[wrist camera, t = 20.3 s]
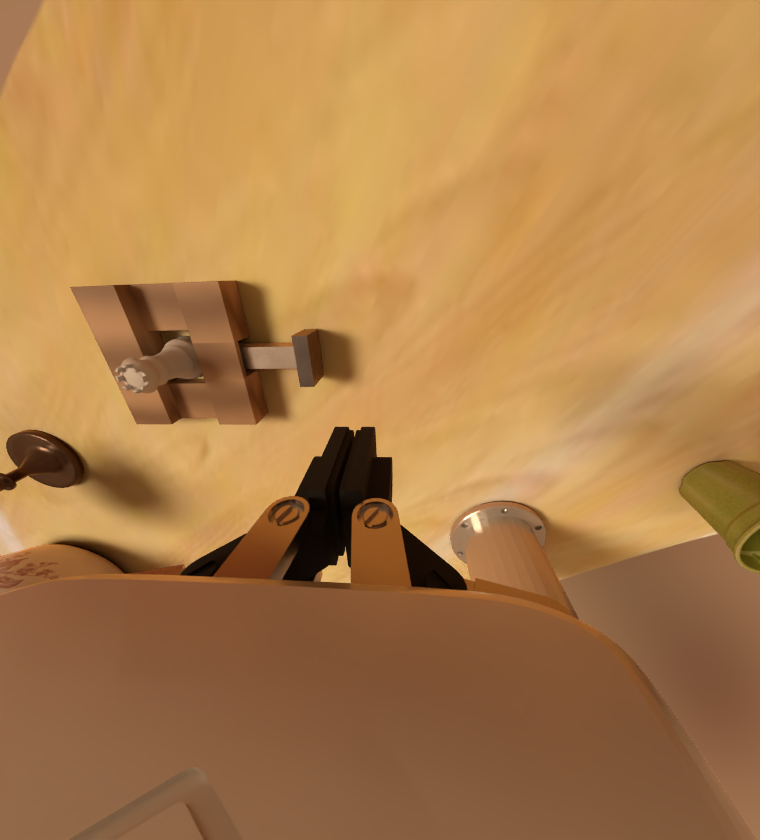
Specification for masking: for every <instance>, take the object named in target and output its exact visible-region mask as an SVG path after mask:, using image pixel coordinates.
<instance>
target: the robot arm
mask: <svg viewBox="0 0 760 840" xmlns="http://www.w3.org/2000/svg"><path fill="white" fill-rule="evenodd" d="M546 537H547V534H546V528H545V526H544V524H543V522H542V520H541V519H540V517H539V516H538V515H537V514H536V513H535V512H534V511H533V510H531V509H530V508H528V507H526V506H523V505H521V504H517V503H512V502H491V503H486V504H482V505H479V506H476V507H474V508H472V509H470V510H468V511H467V512H465V513H464V514H463V515H461V516H460V517H459V518H458V519H457V521H456V522H455V523H454V525H453V527H452V529H451V533H450V540H451V545H452V549H453V551H454V553H455V554H456V555H457V557H458V558H459V559H461V560H462V561H463V562H465V563H466V564H467V566H468V570H469V575H470V579H471V580H467V579H463V577H462V576H461V575H460V574H459V573H458V572H457V571H456V570H455V569H454V568H453V567H452V566H450V565H449V564H448V563H447V562H446V561H444V560H443V559H442V558H441V557H440V556H438V555H437V554H436V553H435V552H433V551H432V550H431V549H430V548H429V547H427V546H426V545H425V544H424V543H422V542H421V541H420V540H419V539H418V538H416V537H415V536H414V535H413V534H411V533H410V532H409V531H408V530H407V529H405V528H404V527H403V526H402V525H400V520H399V515H398V511H397V508H396V507H395V506H394V505H393V503H392V457H377V455H376V435H375V427H362V428H361V430H357V431H356V434H355V437H354V431H353V430H349V427H335V428H334V430H333V433H332V435H331V437H330V439H329V441H328V444H327V446H326V448H325V450H324V452H323V455H322V457H319V456H316V457H314V458H313V460H312V462H311V464H310V466H309V468H308V470H307V472H306V474H305V476H304V478H303V480H302V482H301V484H300V486H299V488H298V490H297V492H296V494H295V496H289V497H284V498H282V499H279V500H277V501H275V502H274V503H272V504H271V505H270V506H269V507H268V508H267V509H266V510H265V511H264V512H263V514H262V515H261V516H260V518H259V519H258V520H257V521H256V523H255V524H254V525H253V526H252V528H251V529H250V530H249V531H248V533H246V534H244V535H242V536H240V537H239V538H237V539H235V540H233V541H231V542H229V543H227V544H225V545H224V546H222V547H220V548H218V549H216V550H214V551H212V552H211V553H209V554H207V555H205V556H203V557H201V558H199V559H198V560H196V561H195V562H193V563H191V564H190V565H189V566H188V567H187V568H185V566H184V565H178V566H172V567H166V568H160V569H154V570H148V571H142V572H136V573H130V574H93V575H82V576H72V577H65V578H59V579H54V580H48V581H44V582H40V583H36V584H33V585H29V586H25V587H22V588H18V589H15V590H12V591H9V592H6V593H3V594H1V595H0V840H756V839H755V837H754V835H753V834H752V832H751V831H750V829H749V828H748V826H747V824H746V823H745V821H744V819H743V818H742V816H741V815H740V813H739V811H738V810H737V808H736V807H735V805H734V803H733V802H732V800H731V799H730V797H729V795H728V794H727V792H726V791H725V789H724V787H723V786H722V784H721V783H720V782H719V780H718V778H717V777H716V775H715V774H714V772H713V771H712V769H711V767H710V766H709V764H708V763H707V761H706V760H705V758H704V757H703V755H702V754H701V753H700V751H699V749H698V748H697V747H696V745H695V743H694V742H693V740H692V739H691V737H690V736H689V734H688V733H687V731H686V730H685V728H684V727H683V725H682V724H681V722H680V721H679V719H678V718H677V717H676V715H675V714H674V712H673V711H672V709H671V708H670V706H669V705H668V704H667V702H666V701H665V699H664V698H663V697H662V695H661V694H660V693H659V691H658V690H657V689H656V687H655V686H654V685H653V683H652V682H651V681H650V679H649V678H648V677H647V676H646V675H645V673H644V672H643V671H642V670H641V669H640V668H639V666H638V665H637V664H636V663H635V661H634V660H633V659H632V658H631V657H630V656H629V655H628V654H626V652H625V651H624V650H623V649H622V648H621V647H619V646H618V645H617V644H616V643H615V642H613V641H612V640H611V639H609V638H608V637H607V636H605V635H604V634H603V633H601V632H600V631H598V630H596V629H595V628H593V627H591V626H589V625H588V624H586V623H584V622H582V621H580V620H579V618H578V616H577V614H576V613H575V611H574V609H573V607H572V605H571V603H570V601H569V599H568V597H567V595H566V593H565V591H564V590H563V587H562V585H561V584H560V582H559V580H558V578H557V576H556V574H555V572H554V570H553V568H552V566H551V564H550V562H549V560H548V558H547V556H546V554H545V553H544V551H543V549H542V548H543V546H544V544H545V542H546ZM345 547H346V552H347V560H348V566H349V567H350V568H351V583H333V582H320V581H321V578H322V570H323V569H324V568H326V567H327V566H329V565H337V561H338V556H343V555H344V551H345Z"/></svg>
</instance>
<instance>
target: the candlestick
mask: <svg viewBox="0 0 760 840" xmlns="http://www.w3.org/2000/svg"><path fill="white" fill-rule="evenodd" d="M6 448H7V452H8V454H9V456H10V458H11V459H12V461H13V462H14V463H15V464H16V466H17V467H18V468H17V469H15V470H13V471H11V472H9V473H7V474H3V473H0V491H2V490H4V489H5V490H12V489H14V488H16V482H17V481H19V480H21V479H23V478H25V477H27V476H30V477H31V478H33V479H35V480H36V481H38V482H40V483H43V484H45V485H48V486H52V487H57V488H65V487H69V486H72V485H74V484H75V483H77V482H78V481H80V480H81V479H82V477H83V475H84V467H83V464H82V462H81V460H80V459H79V457H78V456H77V454H76V453H75V452H74V451H73V450H72V449H71V448H70V447H69V446H68V445H66V444H65V443H64V442H63V441H61V440H59V439H58V438H56V437H54V436H52V435H50V434H48V433H45V432H42V431H37V430H24V431H21V432H19V433H17V434H14V435H12V436H10V437H9V438H8V440H7V443H6Z"/></svg>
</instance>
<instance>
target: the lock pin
mask: <svg viewBox="0 0 760 840" xmlns="http://www.w3.org/2000/svg"><path fill="white" fill-rule="evenodd" d="M292 342H293V343H257V344H238V345H239V349H240V352H241V356H242V360H243V364H244V368H245V369H292V368H297V371H298V376H299V382H300V387H314V386H315V385H316V384H317V383H318V381H319V380H320V379H321V378H322V376H323V375H324V374H323V366H322V358H321V351H320V343H319V336H318V329H304V330H302V331H300V332H298V333H296V334H294V335H293V336H292Z"/></svg>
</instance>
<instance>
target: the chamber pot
mask: <svg viewBox="0 0 760 840" xmlns="http://www.w3.org/2000/svg"><path fill="white" fill-rule="evenodd" d="M93 574H124V573H123V572H122V571H121V570H120V569H119V568H118V567H117V566H116V565H114V564H113V563H112V562H110V561H108V560H107V559H105V558H104V557H102V556H100V555H97V554H95V553H93V552H91V551H88V550H85V549H82V548H78V547H74V546H71V545H62V544H49V545H42V546H37V547H32V548H28V549H25V550H21V551H17V552H14V553H10V554H7V555H3V556H0V595H1V594H3V593H6V592H9V591H12V590H15V589H18V588H22V587H25V586H29V585H33V584H36V583H40V582H44V581H48V580H54V579H59V578H65V577H72V576H82V575H93Z"/></svg>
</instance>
